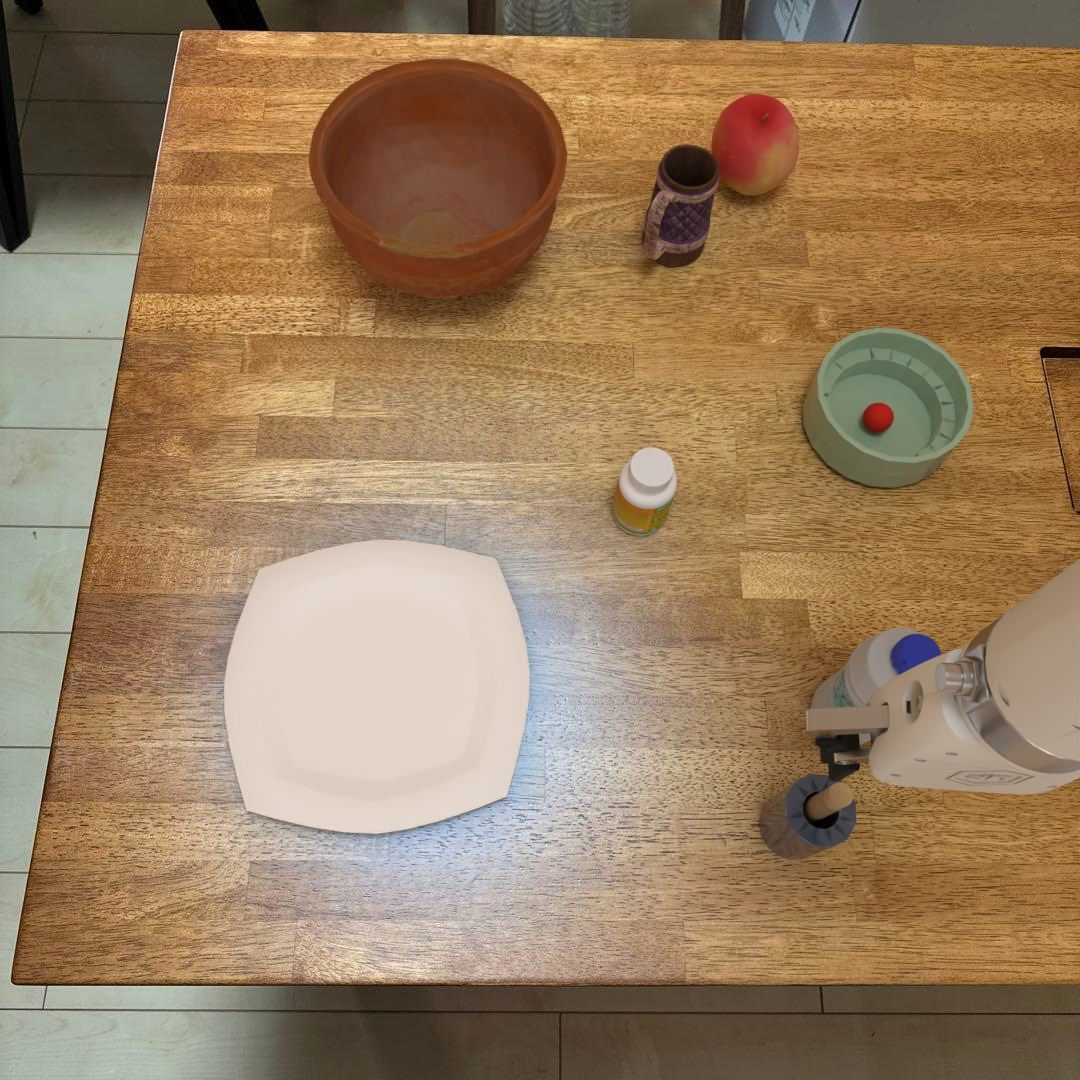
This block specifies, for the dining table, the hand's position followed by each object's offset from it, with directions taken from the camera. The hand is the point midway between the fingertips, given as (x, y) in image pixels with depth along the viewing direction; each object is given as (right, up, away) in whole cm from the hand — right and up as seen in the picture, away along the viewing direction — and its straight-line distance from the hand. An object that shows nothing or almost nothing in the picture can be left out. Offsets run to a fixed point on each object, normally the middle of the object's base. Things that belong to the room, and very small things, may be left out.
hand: (911, 761), depth 62 cm
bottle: (+4, -3, +30) cm, 31 cm away
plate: (-37, +1, +30) cm, 48 cm away
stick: (-1, -11, +26) cm, 28 cm away
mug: (-9, +45, +50) cm, 68 cm away
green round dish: (+12, +26, +42) cm, 51 cm away
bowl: (-33, +45, +49) cm, 75 cm away
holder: (-1, -11, +26) cm, 28 cm away
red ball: (+11, +26, +40) cm, 49 cm away
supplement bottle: (-13, +16, +38) cm, 43 cm away
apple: (+1, +55, +55) cm, 77 cm away
